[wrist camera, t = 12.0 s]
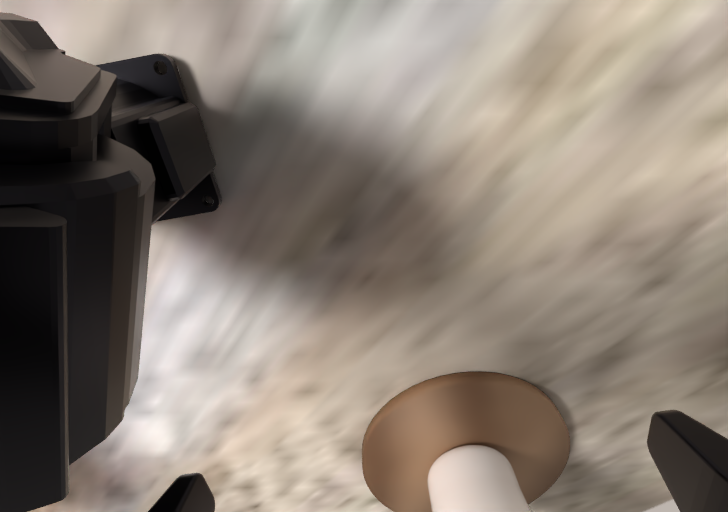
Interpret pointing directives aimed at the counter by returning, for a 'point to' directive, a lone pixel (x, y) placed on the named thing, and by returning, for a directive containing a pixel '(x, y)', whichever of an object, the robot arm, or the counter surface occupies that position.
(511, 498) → the white tapered cylinder
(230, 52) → the counter surface
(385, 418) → the walnut coaster
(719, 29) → the counter surface
